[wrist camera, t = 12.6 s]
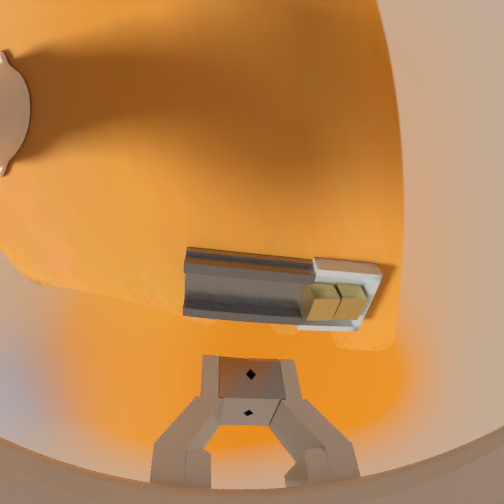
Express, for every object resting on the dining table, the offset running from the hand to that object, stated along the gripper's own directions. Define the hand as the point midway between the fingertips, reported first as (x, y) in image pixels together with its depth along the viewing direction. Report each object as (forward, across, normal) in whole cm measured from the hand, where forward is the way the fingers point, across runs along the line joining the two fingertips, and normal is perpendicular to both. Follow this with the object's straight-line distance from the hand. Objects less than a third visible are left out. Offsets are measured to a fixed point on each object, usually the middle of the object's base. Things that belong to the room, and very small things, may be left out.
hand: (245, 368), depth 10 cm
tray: (+28, -18, +17) cm, 37 cm away
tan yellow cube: (+28, -14, +18) cm, 36 cm away
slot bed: (+28, -4, +18) cm, 34 cm away
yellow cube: (+28, -19, +18) cm, 38 cm away
